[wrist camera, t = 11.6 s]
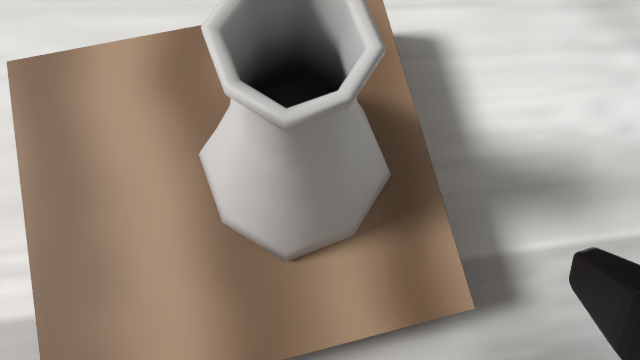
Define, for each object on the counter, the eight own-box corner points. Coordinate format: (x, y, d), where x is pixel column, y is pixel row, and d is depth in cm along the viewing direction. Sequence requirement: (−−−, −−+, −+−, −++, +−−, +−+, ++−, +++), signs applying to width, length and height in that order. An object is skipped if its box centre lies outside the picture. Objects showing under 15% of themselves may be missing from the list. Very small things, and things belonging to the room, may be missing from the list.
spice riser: (367, 33, 23) (380, -9, 20) (444, 302, 20) (475, 308, 17) (52, 95, 21) (6, 61, 18) (92, 395, 19) (47, 422, 15)
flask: (168, 153, 18) (6, 4, 8) (308, 50, 19) (320, -189, 9) (281, 296, 17) (259, 331, 7) (420, 179, 18) (570, 67, 8)
